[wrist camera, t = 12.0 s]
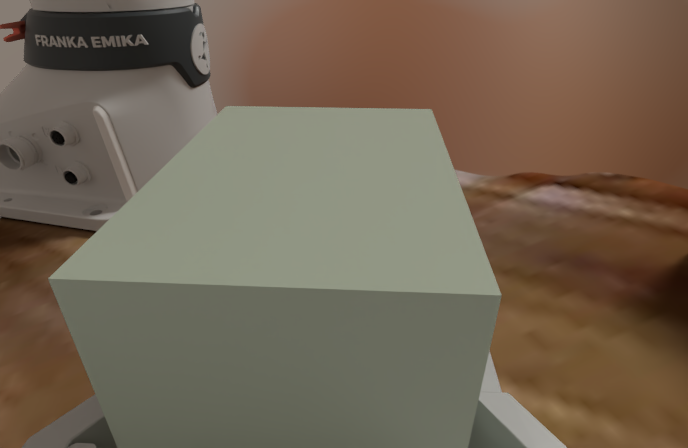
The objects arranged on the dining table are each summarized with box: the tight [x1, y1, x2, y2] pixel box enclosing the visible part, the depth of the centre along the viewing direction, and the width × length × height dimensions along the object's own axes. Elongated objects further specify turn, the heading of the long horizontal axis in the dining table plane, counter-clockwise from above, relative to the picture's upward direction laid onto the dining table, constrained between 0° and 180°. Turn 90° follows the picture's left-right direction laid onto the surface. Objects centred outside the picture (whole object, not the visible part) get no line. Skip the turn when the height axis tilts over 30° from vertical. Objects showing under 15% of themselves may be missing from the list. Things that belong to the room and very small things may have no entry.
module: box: [48, 106, 501, 448], centre depth 11 cm, size 5×7×12 cm
